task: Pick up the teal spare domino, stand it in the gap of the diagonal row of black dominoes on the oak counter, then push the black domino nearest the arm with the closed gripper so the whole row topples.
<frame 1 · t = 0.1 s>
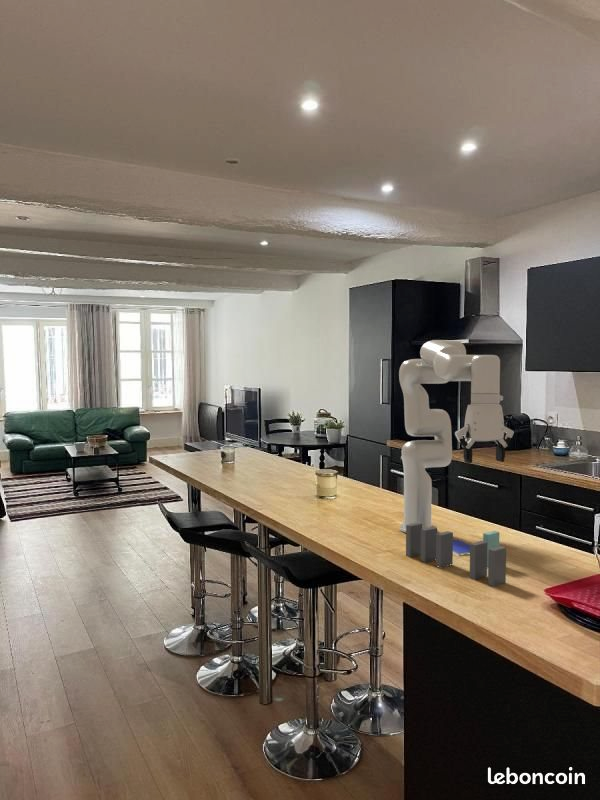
hand: (484, 461, 168), 31 cm above the countertop, tool pointing down, fingers open, 9 cm apart
tile 3: (444, 565, 175), on the countertop
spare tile: (490, 565, 175), on the countertop
hard drive: (458, 551, 192), on the countertop
tile 2: (428, 560, 180), on the countertop
tile 1: (413, 555, 185), on the countertop
tile 5: (478, 577, 165), on the countertop
tile 6: (496, 583, 160), on the countertop
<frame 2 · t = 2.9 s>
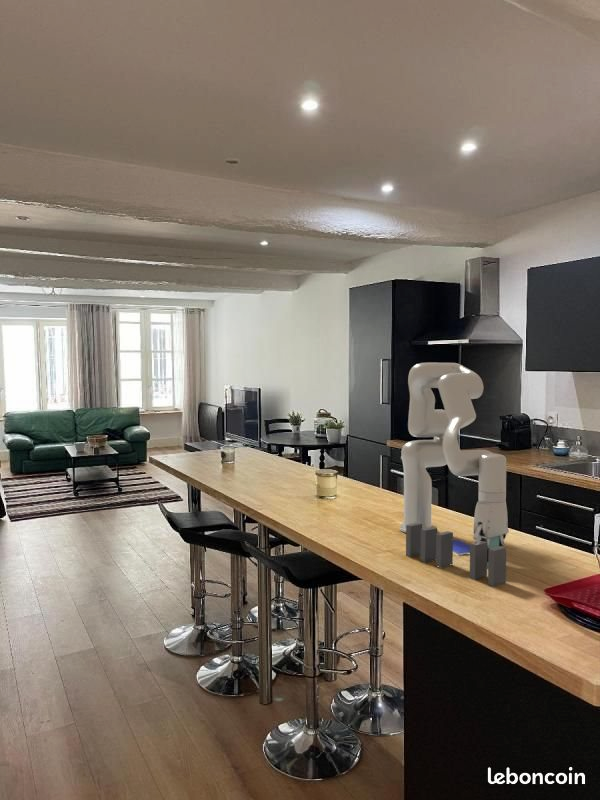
hand: (490, 558, 175), 2 cm above the countertop, tool pointing down, fingers closed on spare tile, 4 cm apart
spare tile: (490, 565, 175), on the countertop, touching gripper
everything else where it was.
when the fingers open (3 cm above the countertop, at t = 8.3 s): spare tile stays where it is, on the countertop.
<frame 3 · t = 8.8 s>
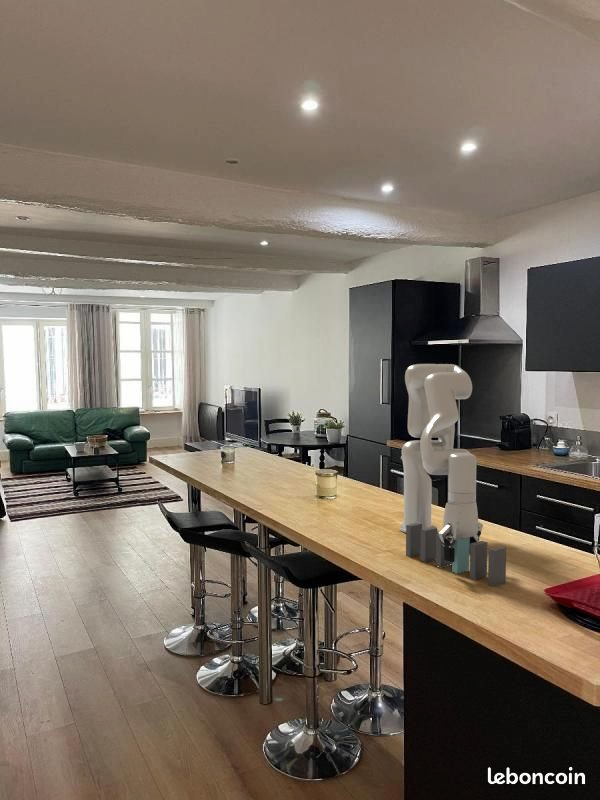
hand: (460, 557, 170), 4 cm above the countertop, tool pointing down, fingers open, 9 cm apart
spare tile: (460, 571, 170), on the countertop
everything else where it was.
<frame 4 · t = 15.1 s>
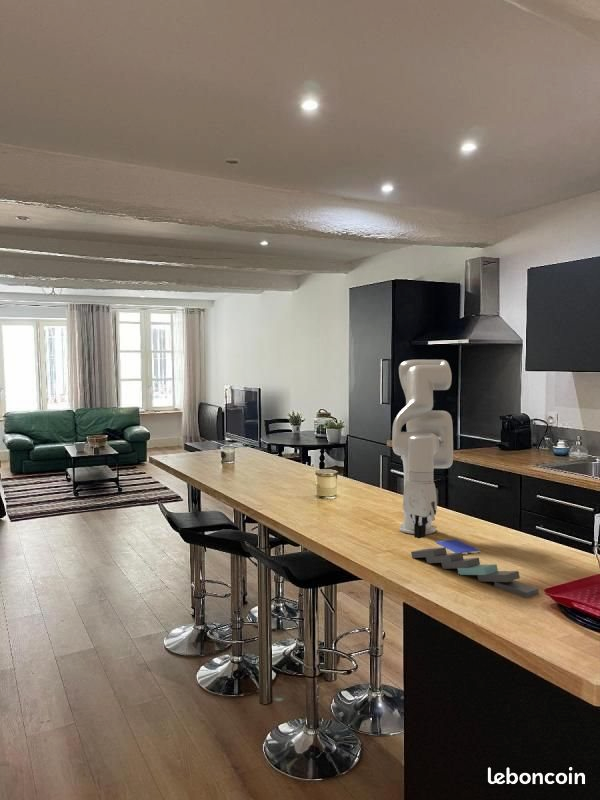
hand: (419, 537, 182), 6 cm above the countertop, tool pointing down, fingers closed
tile 3: (448, 564, 174), point 1 cm above the countertop, tilted 72°, touching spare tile, tile 2
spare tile: (464, 569, 169), point 1 cm above the countertop, tilted 74°, touching tile 3, tile 5
tile 2: (432, 558, 179), point 1 cm above the countertop, tilted 72°, touching tile 1, tile 3
tile 1: (417, 553, 184), point 1 cm above the countertop, tilted 73°, touching tile 2
tile 5: (483, 576, 164), point 1 cm above the countertop, tilted 74°, touching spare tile, tile 6
tile 6: (500, 583, 159), on the countertop, tilted 90°, touching tile 5
everything else where it was.
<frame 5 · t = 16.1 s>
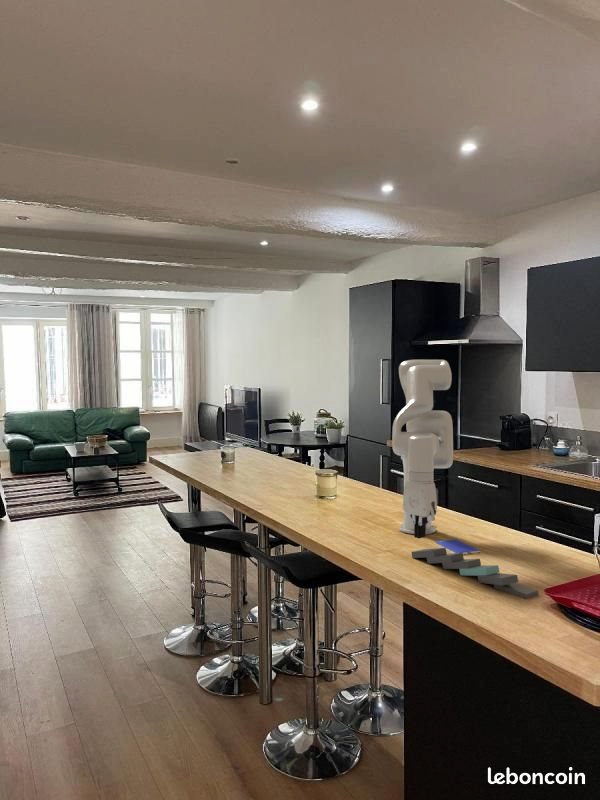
hand: (419, 537, 182), 6 cm above the countertop, tool pointing down, fingers closed
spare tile: (466, 570, 168), point 1 cm above the countertop, tilted 74°, touching tile 3
tile 5: (485, 577, 162), point 1 cm above the countertop, tilted 76°
tile 6: (500, 584, 159), on the countertop, tilted 90°
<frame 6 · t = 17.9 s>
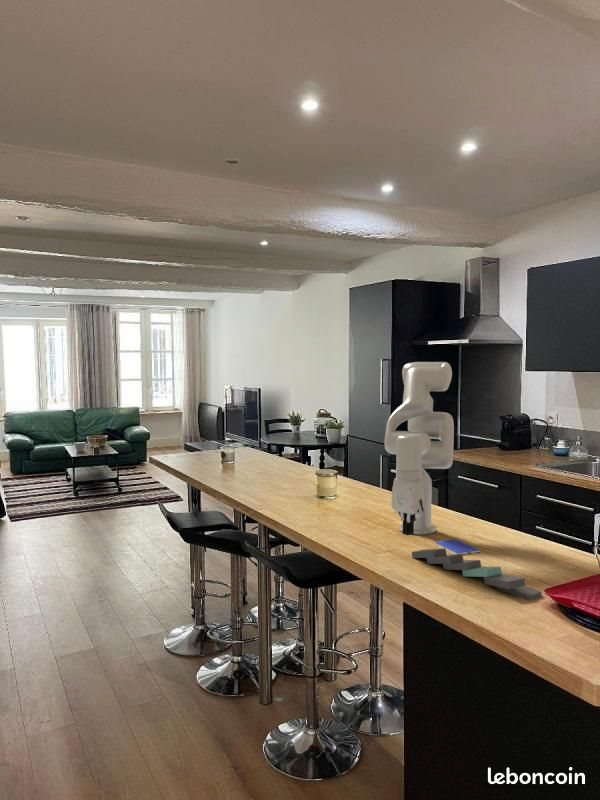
hand: (408, 533, 187), 6 cm above the countertop, tool pointing down, fingers closed
tile 3: (449, 565, 173), point 1 cm above the countertop, tilted 74°, touching tile 2
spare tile: (469, 571, 167), point 1 cm above the countertop, tilted 74°, touching tile 5
tile 5: (492, 578, 160), point 2 cm above the countertop, tilted 79°, touching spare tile, tile 6
tile 6: (503, 585, 158), on the countertop, tilted 90°, touching tile 5
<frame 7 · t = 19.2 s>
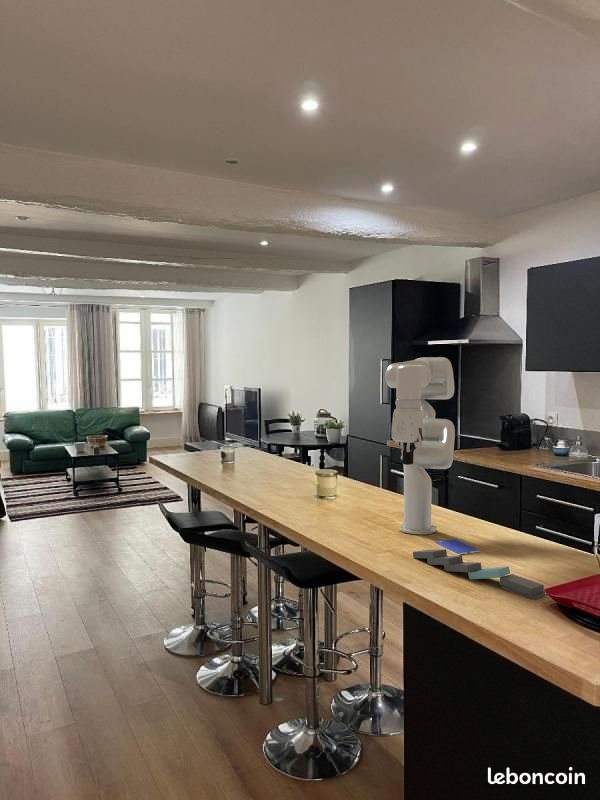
hand: (407, 464, 189), 27 cm above the countertop, tool pointing down, fingers closed
tile 3: (451, 566, 172), point 1 cm above the countertop, tilted 75°, touching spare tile, tile 2
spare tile: (474, 574, 165), point 1 cm above the countertop, tilted 72°, touching tile 3
tile 2: (434, 560, 177), point 1 cm above the countertop, tilted 75°, touching tile 3
tile 1: (419, 553, 183), point 1 cm above the countertop, tilted 74°
tile 5: (506, 578, 159), point 2 cm above the countertop, tilted 90°, touching tile 6
tile 6: (507, 586, 158), on the countertop, tilted 90°, touching tile 5
everything else where it was.
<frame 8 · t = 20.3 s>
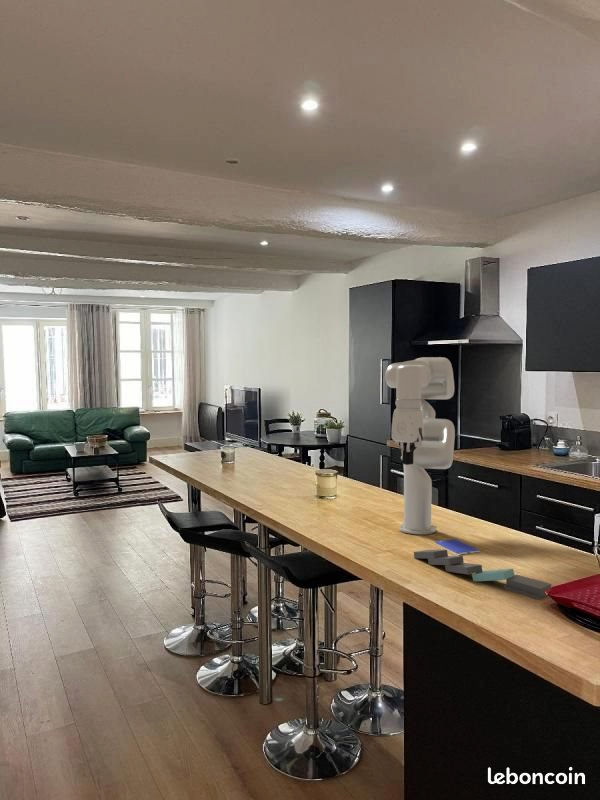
hand: (407, 463, 189), 27 cm above the countertop, tool pointing down, fingers closed
tile 3: (452, 566, 171), point 1 cm above the countertop, tilted 78°, touching tile 2
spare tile: (477, 576, 164), point 1 cm above the countertop, tilted 73°, touching tile 5
tile 2: (435, 560, 177), point 1 cm above the countertop, tilted 74°, touching tile 1, tile 3
tile 1: (420, 554, 183), point 1 cm above the countertop, tilted 74°, touching tile 2
tile 5: (511, 579, 158), point 2 cm above the countertop, tilted 90°, touching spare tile, tile 6
at the end: tile 6 tilted 90°; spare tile tilted 70°; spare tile inside the target area (6.9 cm from its centre), point 0.8 cm above the countertop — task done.
